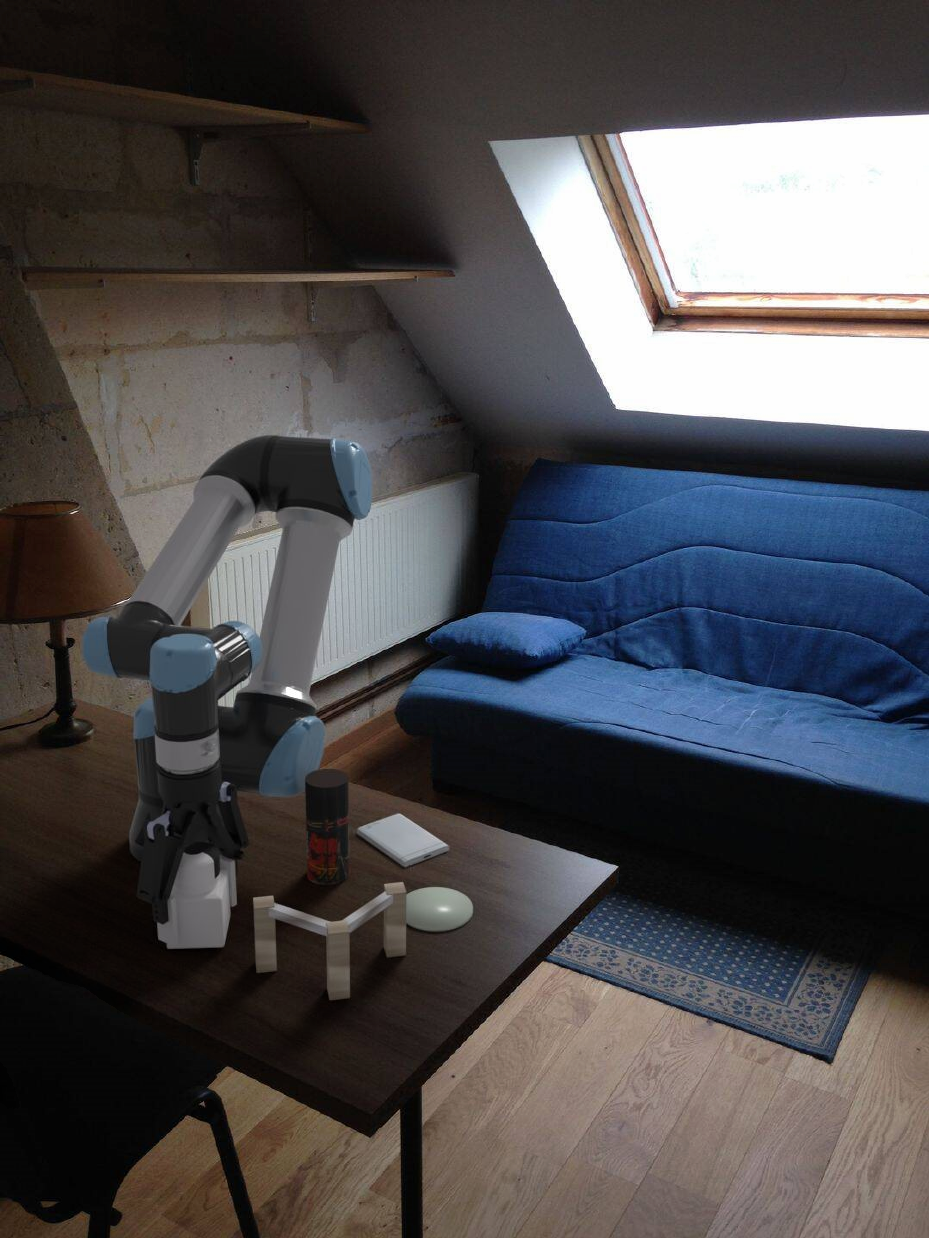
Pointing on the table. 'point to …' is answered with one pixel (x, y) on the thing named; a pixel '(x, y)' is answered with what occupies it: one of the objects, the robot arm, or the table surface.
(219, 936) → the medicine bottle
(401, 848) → the hard drive
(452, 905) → the pad
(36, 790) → the table surface
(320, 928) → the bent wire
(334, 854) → the deodorant
